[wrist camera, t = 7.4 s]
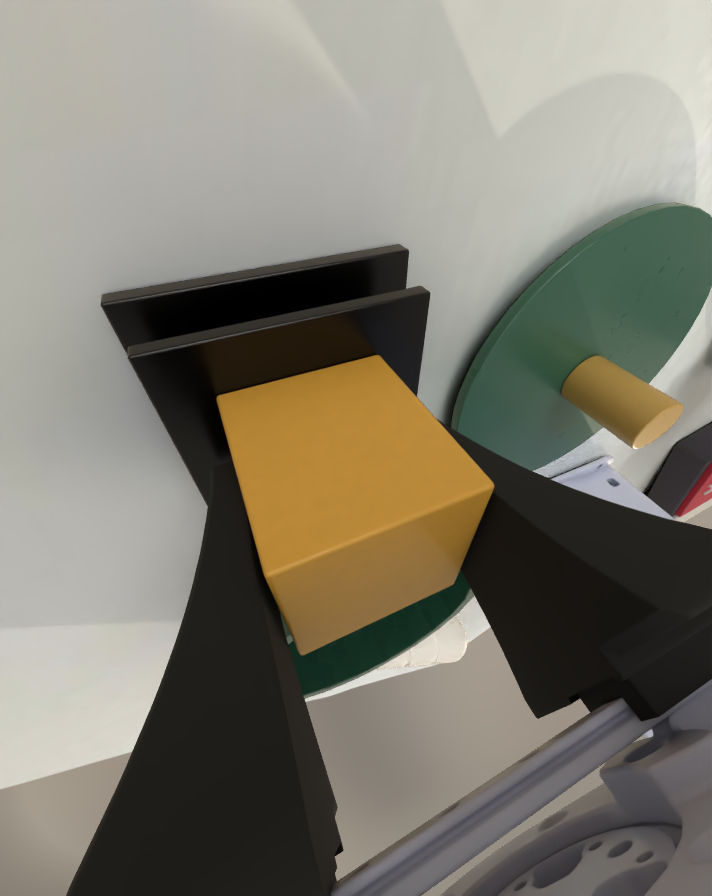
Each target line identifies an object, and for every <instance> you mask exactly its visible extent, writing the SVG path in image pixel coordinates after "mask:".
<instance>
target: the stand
mask: <svg viewBox="0 0 712 896" xmlns="http://www.w3.org/2000/svg"><path fill="white" fill-rule="evenodd" d="M408 257H409V250H408V249H406V248H405V247H403V246H401V245H400V244H398V245H392V246H386V247H380V248H374V249H368V250H362V251H357V252H351V253H345V254H339V255H333V256H327V257H321V258H315V259H309V260H303V261H297V262H292V263H286V264H280V265H274V266H268V267H262V268H256V269H250V270H244V271H238V272H232V273H226V274H221V275H215V276H209V277H203V278H197V279H191V280H185V281H179V282H173V283H167V284H161V285H156V286H150V287H144V288H138V289H132V290H126V291H120V292H114V293H108V294H103V295H102V297H101V307H102V309H103V311H104V312H105V314H106V316H107V318H108V320H109V322H110V324H111V325H112V327H113V329H114V331H115V333H116V335H117V337H118V339H119V340H120V342H121V344H122V346H123V348H124V350H125V352H126V353H127V355H128V359H129V361H130V363H131V365H132V367H133V369H134V370H135V372H136V374H137V376H138V378H139V380H140V382H141V383H142V385H143V387H144V389H145V391H146V393H147V395H148V396H149V398H150V400H151V402H152V404H153V406H154V408H155V409H156V411H157V413H158V415H159V417H160V419H161V421H162V422H163V424H164V426H165V428H166V430H167V432H168V434H169V435H170V437H171V439H172V441H173V443H174V445H175V447H176V448H177V450H178V452H179V454H180V456H181V458H182V460H183V461H184V463H185V465H186V467H187V469H188V471H189V473H190V474H191V476H192V478H193V480H194V482H195V484H196V486H197V487H198V489H199V491H200V493H201V495H202V497H203V499H204V500H205V502H206V504H207V506H208V502H209V490H210V470H211V469H212V467H213V466H216V465H220V464H223V463H226V462H229V461H233V459H232V455H231V452H230V448H229V444H228V441H227V437H226V433H225V429H224V426H223V422H222V418H221V415H220V411H219V407H218V404H217V396H219V395H222V394H226V393H230V392H234V391H238V390H242V389H246V388H249V387H253V386H257V385H261V384H265V383H269V382H273V381H277V380H281V379H285V378H288V377H292V376H296V375H300V374H304V373H308V372H312V371H316V370H320V369H324V368H328V367H331V366H335V365H339V364H343V363H347V362H351V361H355V360H359V359H363V358H367V357H370V356H374V355H379V356H380V357H381V358H382V359H383V360H384V361H385V362H386V363H387V365H388V366H389V367H390V368H391V369H392V370H393V371H394V372H395V373H396V375H397V376H398V377H399V378H400V379H401V380H402V381H403V382H404V384H405V385H406V386H407V387H408V388H409V389H410V390H411V391H412V392H413V394H414V395H415V396H416V397H417V391H418V384H419V376H420V368H421V361H422V353H423V346H424V338H425V330H426V323H427V315H428V308H429V300H430V292H429V291H428V290H426V289H425V288H424V287H422V286H417V287H413V288H408V289H406V281H407V269H408Z"/></svg>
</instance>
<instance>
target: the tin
mask: <svg viewBox="0 0 712 896" xmlns="http://www.w3.org/2000/svg"><path fill="white" fill-rule="evenodd" d="M473 596H474V593H473V592H472V590H471V588H470V586H469V584H468V582H467V581H466V579H465V577H464V575H463V574H462V572H461V570H459V573H458V575H457V578H456V580H455V582H454V584H453V585H451V586H449V587H447V588H445V589H443V590H441V591H439V592H436V593H434V594H432V595H430V596H428V597H426V598H424V599H422V600H419V601H417V602H415V603H413V604H411V605H409V606H407V607H405V608H402V609H400V610H398V611H396V612H394V613H392V614H390V615H388V616H386V617H383V618H381V619H379V620H377V621H375V622H373V623H371V624H369V625H366V626H364V627H362V628H360V629H358V630H356V631H354V632H352V633H350V634H347V635H345V636H343V637H341V638H339V639H337V640H335V641H333V642H330V643H328V644H326V645H324V646H322V647H320V648H318V649H316V650H314V651H311V652H309V653H307V654H305V655H300V653H299V652H298V650H297V647H296V645H295V643H294V641H293V639H292V636H291V634H290V632H289V630H288V628H287V625H286V623H285V621H284V619H283V616H282V614H281V612H280V614H281V619H282V623H283V627H284V631H285V635H286V639H287V642H288V645H289V649H290V652H291V655H292V659H293V662H294V666H295V669H296V672H297V676H298V679H299V682H300V686H301V689H302V692H303V696H304V699H305V698H308V697H311V696H314V695H317V694H320V693H323V692H326V691H329V690H331V689H333V688H336V687H338V686H340V685H343V684H345V683H347V682H350V681H352V680H354V679H357V678H359V677H361V676H363V675H365V674H367V673H369V672H371V671H373V670H375V669H377V668H379V667H380V666H382V665H384V664H386V663H388V662H389V661H391V660H393V659H394V658H396V657H398V656H399V655H401V654H403V653H404V652H406V651H408V650H409V649H411V648H412V647H414V646H416V645H417V644H418V643H420V642H421V641H423V640H424V639H426V638H427V637H428V636H430V635H431V634H433V633H434V632H436V631H437V630H438V629H440V628H441V627H442V626H443V625H444V624H446V623H447V622H448V621H449V620H450V619H452V618H453V617H454V616H455V615H456V614H458V613H459V612H460V611H461V609H462V608H463V607H464V606H465V605H466V604H467V603H468V602H469V601H470V600H471V599H472V597H473Z"/></svg>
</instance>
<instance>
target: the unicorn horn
mask: <svg viewBox="0 0 712 896" xmlns="http://www.w3.org/2000/svg"><path fill="white" fill-rule="evenodd" d="M466 649H467V636H466V632H465V629H464V627H463V626H462V624H461V622H460V621H459V620H458V619H457V618H456V617H455V616H454V617H453V618H452V619H450V620H449V621H448V622H447V623H446V624H444V625H443V626H442V627H441V628H440V629H438V630H437V631H436V632H434V633H433V634H431V635H430V636H428V637H427V638H426V639H424V640H423V641H421V642H420V643H418V644H417V645H416V646H414V647H412V648H411V649H409V650H408V651H406V652H404V653H403V654H401V655H399V656H398V657H396V658H394V659H393V660H391V661H389V662H388V663H386V664H384V665H382V666H380V667H379V668H377V670H381V669H391V668H401V667H410V666H420V665H429V664H438V663H449V662H456V661H458V660H459V659H461V658H462V657H463V655H464V653H465V651H466Z"/></svg>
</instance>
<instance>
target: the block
mask: <svg viewBox="0 0 712 896" xmlns="http://www.w3.org/2000/svg"><path fill="white" fill-rule="evenodd" d="M217 404H218V407H219V411H220V415H221V418H222V422H223V426H224V429H225V433H226V437H227V441H228V444H229V448H230V452H231V455H232V459H233V463H234V466H235V470H236V474H237V478H238V481H239V485H240V489H241V492H242V496H243V500H244V503H245V507H246V511H247V515H248V518H249V522H250V526H251V529H252V533H253V537H254V540H255V544H256V548H257V552H258V555H259V559H260V563H261V566H262V570H263V574H264V577H265V579H266V581H267V583H268V585H269V588H270V590H271V592H272V594H273V597H274V599H275V601H276V603H277V605H278V608H279V610H280V612H281V614H282V616H283V619H284V621H285V623H286V625H287V628H288V630H289V632H290V634H291V636H292V639H293V641H294V643H295V645H296V647H297V650H298V652H299V653H300V655H305V654H307V653H309V652H311V651H314V650H316V649H318V648H320V647H322V646H324V645H326V644H328V643H330V642H333V641H335V640H337V639H339V638H341V637H343V636H345V635H347V634H350V633H352V632H354V631H356V630H358V629H360V628H362V627H364V626H366V625H369V624H371V623H373V622H375V621H377V620H379V619H381V618H383V617H386V616H388V615H390V614H392V613H394V612H396V611H398V610H400V609H402V608H405V607H407V606H409V605H411V604H413V603H415V602H417V601H419V600H422V599H424V598H426V597H428V596H430V595H432V594H434V593H436V592H439V591H441V590H443V589H445V588H447V587H449V586H451V585H453V584H454V582H455V580H456V578H457V575H458V573H459V570H460V568H461V566H462V563H463V561H464V559H465V556H466V554H467V551H468V549H469V547H470V544H471V542H472V539H473V537H474V535H475V532H476V530H477V527H478V525H479V523H480V520H481V518H482V516H483V513H484V511H485V508H486V506H487V504H488V501H489V499H490V496H491V494H492V492H493V489H494V484H493V482H492V481H491V480H490V478H489V477H488V476H487V475H486V474H485V473H484V472H483V471H482V470H481V468H480V467H479V466H478V465H477V464H476V463H475V462H474V461H473V459H472V458H471V457H470V456H469V455H468V454H467V453H466V452H465V451H464V449H463V448H462V447H461V446H460V445H459V444H458V443H457V442H456V440H455V439H454V438H453V437H452V436H451V435H450V434H449V433H448V432H447V430H446V429H445V428H444V427H443V426H442V425H441V424H440V423H439V422H438V420H437V419H436V418H435V417H434V416H433V415H432V414H431V413H430V411H429V410H428V409H427V408H426V407H425V406H424V405H423V404H422V403H421V401H420V400H419V399H418V398H417V397H416V396H415V395H414V394H413V392H412V391H411V390H410V389H409V388H408V387H407V386H406V385H405V384H404V382H403V381H402V380H401V379H400V378H399V377H398V376H397V375H396V373H395V372H394V371H393V370H392V369H391V368H390V367H389V366H388V365H387V363H386V362H385V361H384V360H383V359H382V358H381V357H380V356H379V355H374V356H370V357H367V358H363V359H359V360H355V361H351V362H347V363H343V364H339V365H335V366H331V367H328V368H324V369H320V370H316V371H312V372H308V373H304V374H300V375H296V376H292V377H288V378H285V379H281V380H277V381H273V382H269V383H265V384H261V385H257V386H253V387H249V388H246V389H242V390H238V391H234V392H230V393H226V394H222V395H219V396H217Z"/></svg>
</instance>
